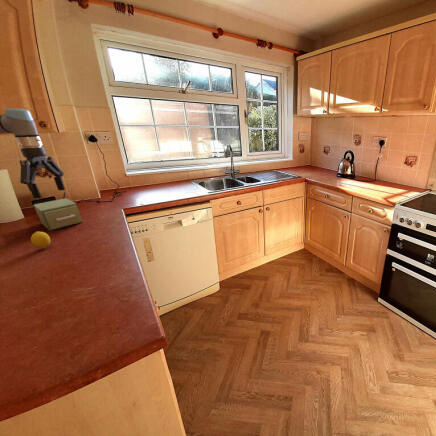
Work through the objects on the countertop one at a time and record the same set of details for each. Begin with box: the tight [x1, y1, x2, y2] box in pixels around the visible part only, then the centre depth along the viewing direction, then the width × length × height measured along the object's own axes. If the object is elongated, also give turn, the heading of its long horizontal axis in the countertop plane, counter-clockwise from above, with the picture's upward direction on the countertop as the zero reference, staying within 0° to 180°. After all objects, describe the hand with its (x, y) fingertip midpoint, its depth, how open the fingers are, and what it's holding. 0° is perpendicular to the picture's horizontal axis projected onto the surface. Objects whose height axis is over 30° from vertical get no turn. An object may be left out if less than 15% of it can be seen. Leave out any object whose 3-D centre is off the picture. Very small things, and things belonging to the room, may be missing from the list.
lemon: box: [30, 230, 51, 249], centre depth 102 cm, size 6×6×8 cm
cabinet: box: [33, 197, 83, 231], centre depth 129 cm, size 18×14×11 cm
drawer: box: [44, 206, 83, 230], centre depth 127 cm, size 22×12×9 cm, turn 54°
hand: (50, 193), depth 115 cm, fingers open, 13 cm apart
